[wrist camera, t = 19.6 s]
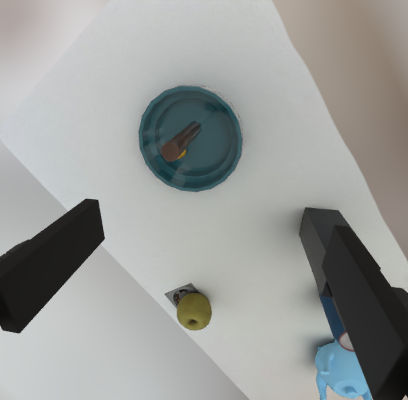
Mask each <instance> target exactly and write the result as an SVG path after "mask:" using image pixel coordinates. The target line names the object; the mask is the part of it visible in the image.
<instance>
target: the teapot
mask: <svg viewBox="0 0 408 400" xmlns="http://www.w3.org/2000/svg"><path fill="white" fill-rule="evenodd" d="M334 342H335V343H330V344H327V345H325V346H320V347H318V348H317V349H318V353H317V355H316V357H315V364H316V367H317V370H318V373H317V376H316V382H317V386H318V390H319V393H320V400H326V387H327V385H328V386H329V387H330V388H331V389H332V390H333V391H334V392H335V393H337V394H338V395H340V396H343V397H348V398H351V399H354V398H357V397H358V396H361V395H362V397H363V398H364V400H372V398H371V394H370V390H369V388H368V385H367V383H366V380H365V377H364V375H363V372H362V370H361V367H360V365H359V362H358V359H357V357H356V354H355V352H351V351H347V350H345V349H344V348H342V347H341V345H340V343H339V342H338V341H337V340H336V339H335V340H334Z"/></svg>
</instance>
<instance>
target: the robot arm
mask: <svg viewBox="0 0 408 400" xmlns="http://www.w3.org/2000/svg"><path fill="white" fill-rule="evenodd" d="M104 239H105V237H104V231H103V225H102V219H101V214H100V208H99V202H98V200H95V199H85V200H83V201H82V202H81V203H79V204H78V205H77V206H75V207H74V208H73V209H71V210H70V211H68V212H67V213H66V214H64V215H63V216H62V217H60V218H59V219H58V220H56V221H55V222H53V223H52V224H51V225H49V226H48V227H47V228H45V229H44V230H43V231H41V232H40V233H38V234H37V235H36V236H34V237H33V238H32V239H30V240H27V241H24V242H22V243H20V244H18V245H16V246H14V247H13V248H12V249H10V250H9V251H7V252H6V254H3V255H2V256H0V326H1V328H2V330H4V331H9V332H14V333H20V332H21V331H22V330H23V329H24V328H25V327H26V326H27V325H28V323H29V322H30V321H31V320H32V319H33V318H34V317H35V316H36V314H38V312H39V311H40V310H41V309H42V308H43V307H44V306H45V305H46V304H47V302H48V301H49V300H50V299H51V298H52V297H53V296H54V294H56V292H57V291H58V290H59V289H60V288H61V287H62V286H63V285H64V283H65V282H66V281H67V280H68V279H69V278H70V277H71V276H72V275H73V273H74V272H75V271H76V270H77V269H78V268H79V267H80V266H81V265H82V264H83V263H84V261H85V260H86V259H87V258H88V257H89V256H90V255H91V254H92V253H93V251H94V250H95V249H96V248H97V247H98V246H99V245H100V244H101V243H102V241H103V240H104ZM321 267H322V269H323V272H324V275H325V277H326V280H327V282H328V285H329V287H330V290H331V293H332V295H333V298H334V300H335V303H336V305H337V308H338V311H339V313H340V316H341V318H342V321H343V323H344V326H345V329H346V331H347V334H348V336H349V339H350V341H351V344H352V347H353V349H354V352H355V354H356V357H357V359H358V362H359V365H360V367H361V370H362V372H363V375H364V377H365V380H366V383H367V385H368V388H369V390H370V393H371V395H372V398H373V400H402V399H403V398H404V396H405V395H406V396H407V398H408V293H407V292H406V291H405V290H404V289H402V288H395V287H391V286H390V284H389V283H388V282H387V280H386V279H385V277H384V276H383V274H382V273H381V271H380V270H379V268H378V267H377V266H376V264H375V263H374V261H373V260H372V258H371V257H370V255H369V254H368V252H367V251H366V250H365V248H364V247H363V245H362V244H361V242H360V241H359V239H358V238H357V236H356V235H355V234H354V232H353V231H352V229H351V228H350V227H349V226H340V225H334V227H333V230H332V233H331V236H330V240H329V243H328V246H327V249H326V253H325V256H324V259H323V263H322V266H321Z"/></svg>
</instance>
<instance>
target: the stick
mask: <svg viewBox="0 0 408 400" xmlns="http://www.w3.org/2000/svg"><path fill="white" fill-rule="evenodd" d="M200 131H201V126H200V124H199V123H197V122H192V123H190V124H189V125H188V126H186V127H185V128H184V129H183V130H181V131H180V132H179V133H178V134H176V135H175V136H174V137H173V138H171V139H170V140H169V141H168V142H166V143H165V144H164V145H163V146H162V148H161V154H162V156H163V158H164V159H166V160H167V161H175V160H177V159H178V158H179V156H180V155H181V154H182V153H183V152H184V150H185V149H186V148H187V147H188V146H189V145H190V143H191V142H192V141H193V140H194V139H195V138H196V136H197V135H198V134H199V133H200Z"/></svg>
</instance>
